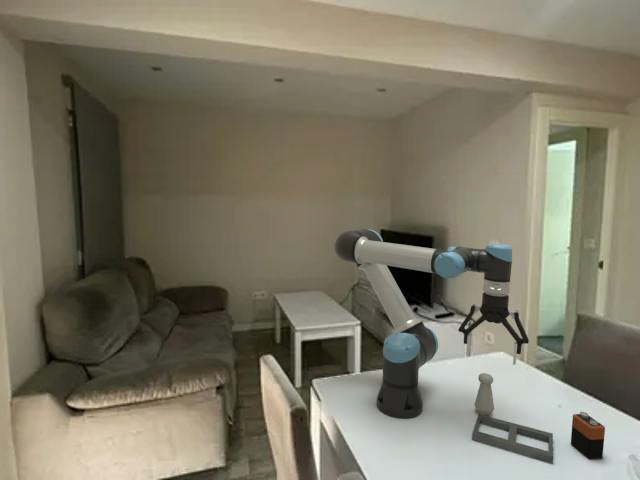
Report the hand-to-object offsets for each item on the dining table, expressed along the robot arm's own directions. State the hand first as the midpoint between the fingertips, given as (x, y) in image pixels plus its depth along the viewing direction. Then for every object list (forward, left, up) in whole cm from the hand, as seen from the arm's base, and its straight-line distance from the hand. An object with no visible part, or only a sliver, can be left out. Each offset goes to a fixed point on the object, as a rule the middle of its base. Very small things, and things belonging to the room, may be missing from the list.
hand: (490, 358), depth 123 cm
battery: (+26, -6, -19) cm, 33 cm away
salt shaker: (-1, 0, -19) cm, 19 cm away
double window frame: (+8, -11, -19) cm, 23 cm away
